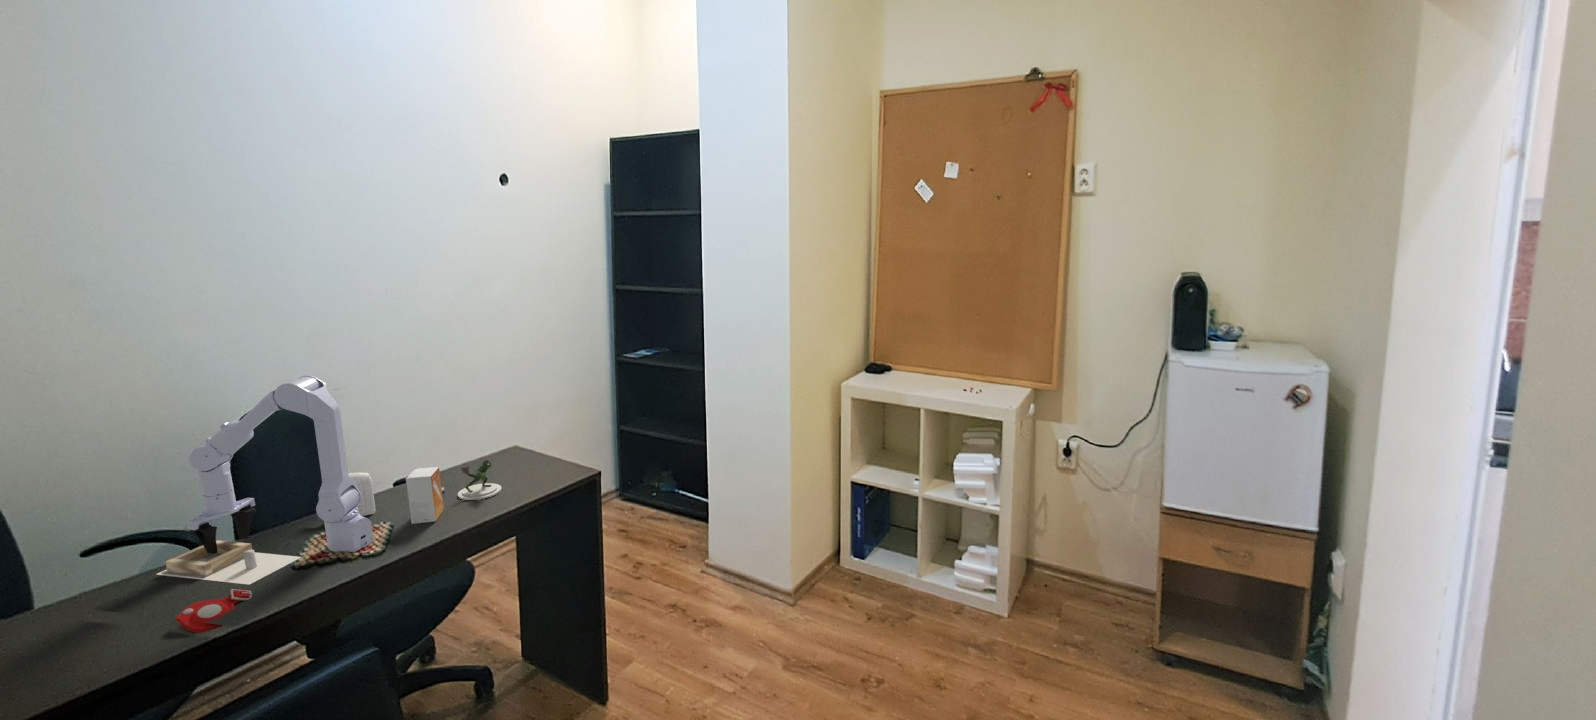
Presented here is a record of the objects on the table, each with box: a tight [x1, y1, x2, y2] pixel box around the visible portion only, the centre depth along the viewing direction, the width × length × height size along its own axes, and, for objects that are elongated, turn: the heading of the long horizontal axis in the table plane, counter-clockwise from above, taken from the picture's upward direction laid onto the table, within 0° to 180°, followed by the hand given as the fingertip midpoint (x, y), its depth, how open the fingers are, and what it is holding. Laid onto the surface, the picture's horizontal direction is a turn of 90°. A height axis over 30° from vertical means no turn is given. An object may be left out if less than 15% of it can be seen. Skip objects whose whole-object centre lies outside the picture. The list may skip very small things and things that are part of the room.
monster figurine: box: [457, 459, 503, 501], centre depth 205 cm, size 12×12×10 cm
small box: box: [405, 466, 445, 525], centre depth 188 cm, size 8×6×13 cm
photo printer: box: [348, 472, 376, 517], centre depth 190 cm, size 10×4×12 cm, turn 123°
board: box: [155, 549, 302, 585], centre depth 160 cm, size 26×13×6 cm, turn 78°
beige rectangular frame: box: [165, 539, 253, 576], centre depth 162 cm, size 11×11×2 cm
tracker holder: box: [174, 588, 253, 634], centre depth 142 cm, size 12×4×10 cm
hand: (228, 545), depth 166 cm, fingers open, 7 cm apart
